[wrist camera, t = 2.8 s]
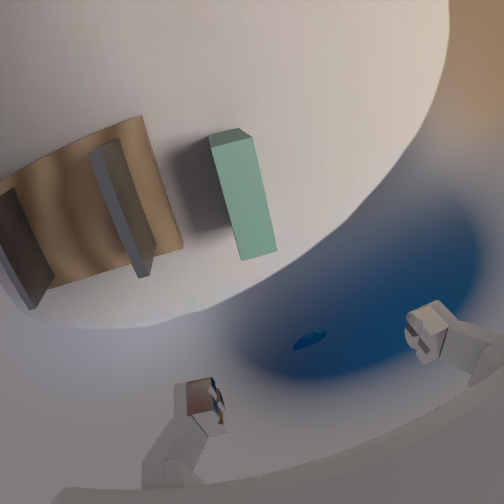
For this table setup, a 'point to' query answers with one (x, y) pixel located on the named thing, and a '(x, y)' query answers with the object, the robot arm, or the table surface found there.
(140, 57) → the table surface
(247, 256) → the book
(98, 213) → the shelf board
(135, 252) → the bookends
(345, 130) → the table surface
